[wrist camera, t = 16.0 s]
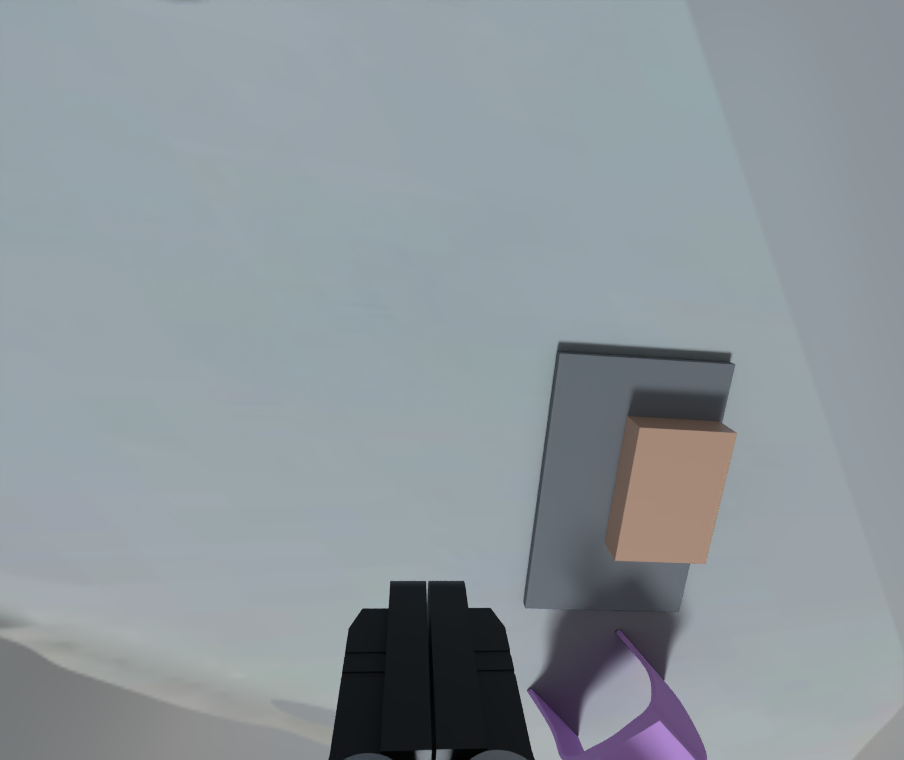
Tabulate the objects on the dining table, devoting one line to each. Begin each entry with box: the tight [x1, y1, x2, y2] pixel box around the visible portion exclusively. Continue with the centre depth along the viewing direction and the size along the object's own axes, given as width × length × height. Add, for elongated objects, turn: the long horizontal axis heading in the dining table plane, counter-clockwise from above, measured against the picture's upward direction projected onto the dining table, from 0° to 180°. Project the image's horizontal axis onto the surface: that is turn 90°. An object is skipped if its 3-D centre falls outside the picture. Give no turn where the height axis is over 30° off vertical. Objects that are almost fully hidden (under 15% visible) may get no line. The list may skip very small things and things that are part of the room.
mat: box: [524, 351, 735, 612], centre depth 36 cm, size 18×11×1 cm, turn 175°
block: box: [604, 416, 737, 564], centre depth 34 cm, size 9×2×6 cm
